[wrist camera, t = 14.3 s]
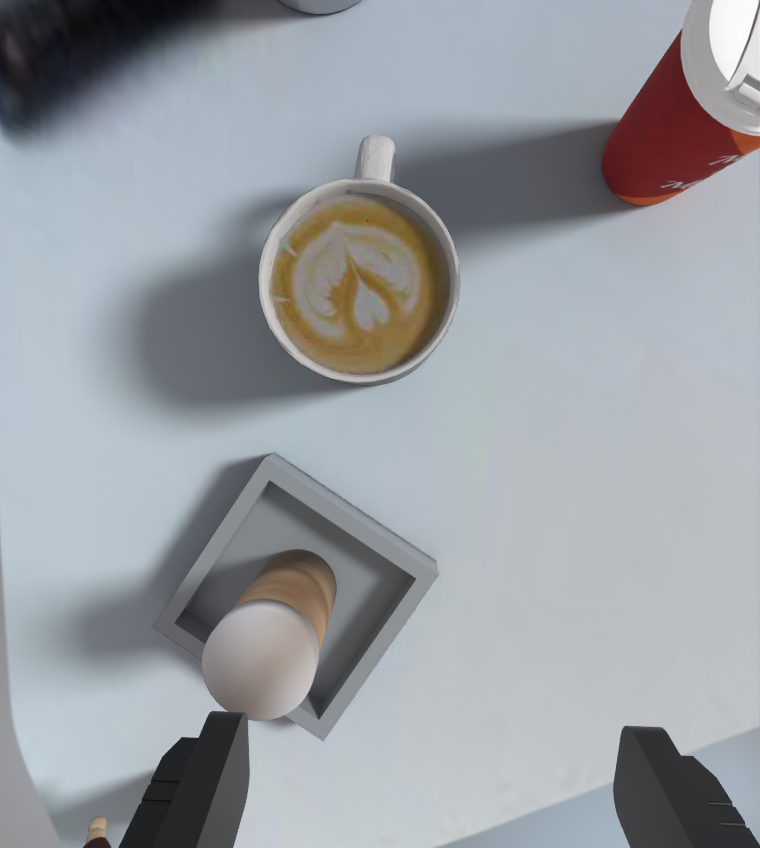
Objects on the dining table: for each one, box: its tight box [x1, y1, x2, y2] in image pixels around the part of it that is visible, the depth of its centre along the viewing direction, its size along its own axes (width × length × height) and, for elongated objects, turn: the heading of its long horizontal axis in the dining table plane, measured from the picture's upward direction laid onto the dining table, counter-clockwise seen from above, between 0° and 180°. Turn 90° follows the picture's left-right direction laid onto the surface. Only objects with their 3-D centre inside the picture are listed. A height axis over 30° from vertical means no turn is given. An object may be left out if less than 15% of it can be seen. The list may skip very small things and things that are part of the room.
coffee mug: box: [258, 135, 460, 386], centre depth 33 cm, size 13×10×10 cm
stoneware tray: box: [153, 453, 439, 741], centre depth 38 cm, size 13×13×3 cm
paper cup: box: [602, 0, 760, 206], centre depth 30 cm, size 8×8×14 cm
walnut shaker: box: [202, 549, 337, 721], centre depth 33 cm, size 5×5×11 cm
